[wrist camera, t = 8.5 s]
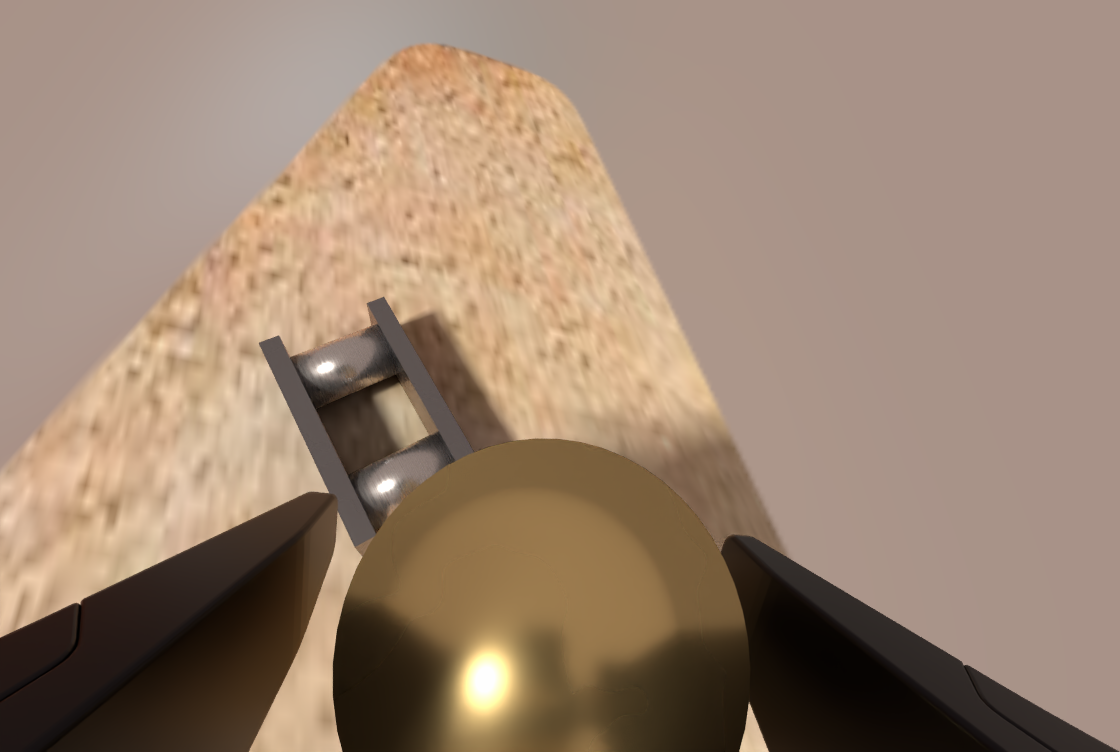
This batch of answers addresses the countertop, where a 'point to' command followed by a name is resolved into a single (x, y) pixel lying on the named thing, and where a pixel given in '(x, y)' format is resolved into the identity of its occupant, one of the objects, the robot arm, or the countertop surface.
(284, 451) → the countertop surface
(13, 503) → the countertop surface
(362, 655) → the link pin
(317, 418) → the chain end
